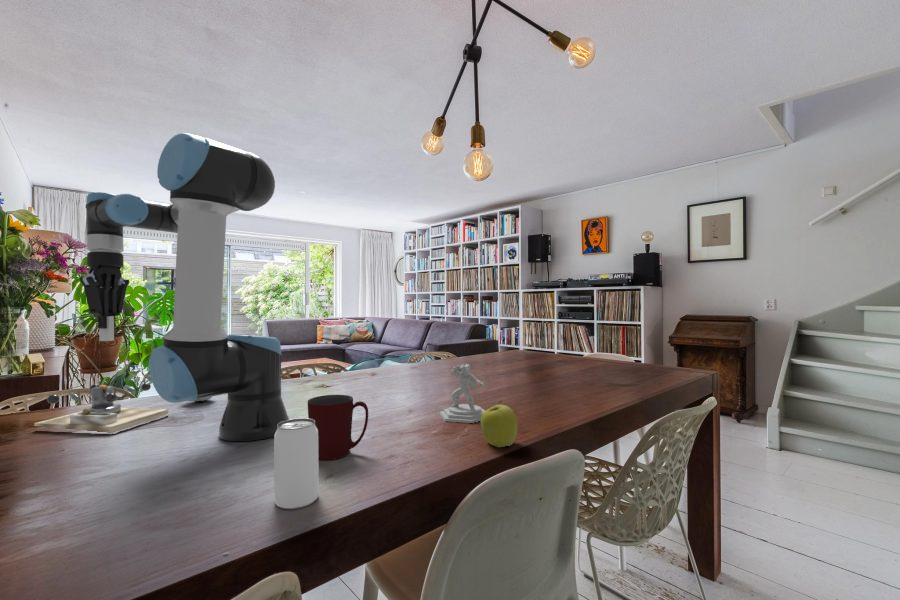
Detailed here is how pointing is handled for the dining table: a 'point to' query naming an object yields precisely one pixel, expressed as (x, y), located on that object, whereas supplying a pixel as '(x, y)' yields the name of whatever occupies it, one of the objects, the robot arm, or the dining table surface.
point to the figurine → (466, 411)
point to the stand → (103, 419)
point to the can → (296, 463)
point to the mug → (334, 424)
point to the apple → (499, 425)
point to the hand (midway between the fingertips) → (106, 340)
